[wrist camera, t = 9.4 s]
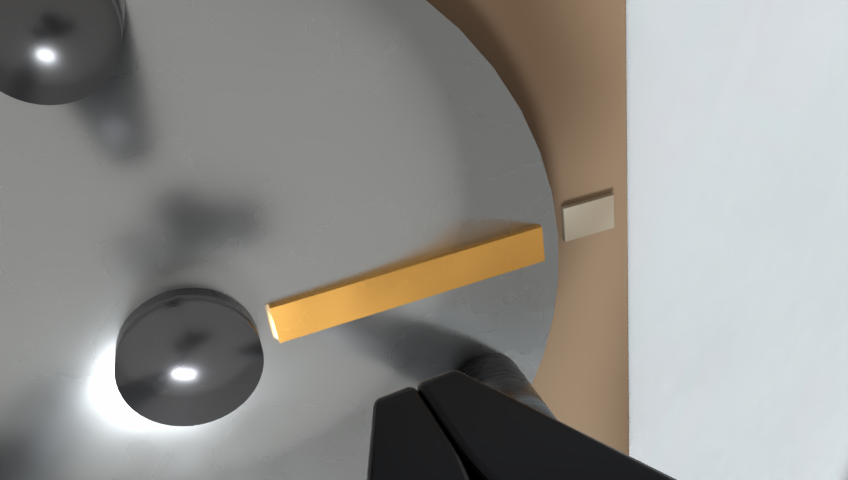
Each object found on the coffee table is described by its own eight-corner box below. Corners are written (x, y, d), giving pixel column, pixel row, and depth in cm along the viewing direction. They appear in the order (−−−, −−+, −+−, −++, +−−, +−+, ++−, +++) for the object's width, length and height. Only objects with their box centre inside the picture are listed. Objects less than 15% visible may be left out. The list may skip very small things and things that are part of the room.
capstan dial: (-61, 725, 21) (-96, 878, 18) (-622, 24, 12) (-902, 85, 9) (569, 484, 25) (632, 574, 22) (517, -178, 16) (612, -188, 13)
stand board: (-112, 728, 21) (-119, 751, 21) (-721, -10, 12) (-763, -3, 11) (621, 459, 26) (631, 472, 26) (611, -213, 17) (628, -215, 16)
